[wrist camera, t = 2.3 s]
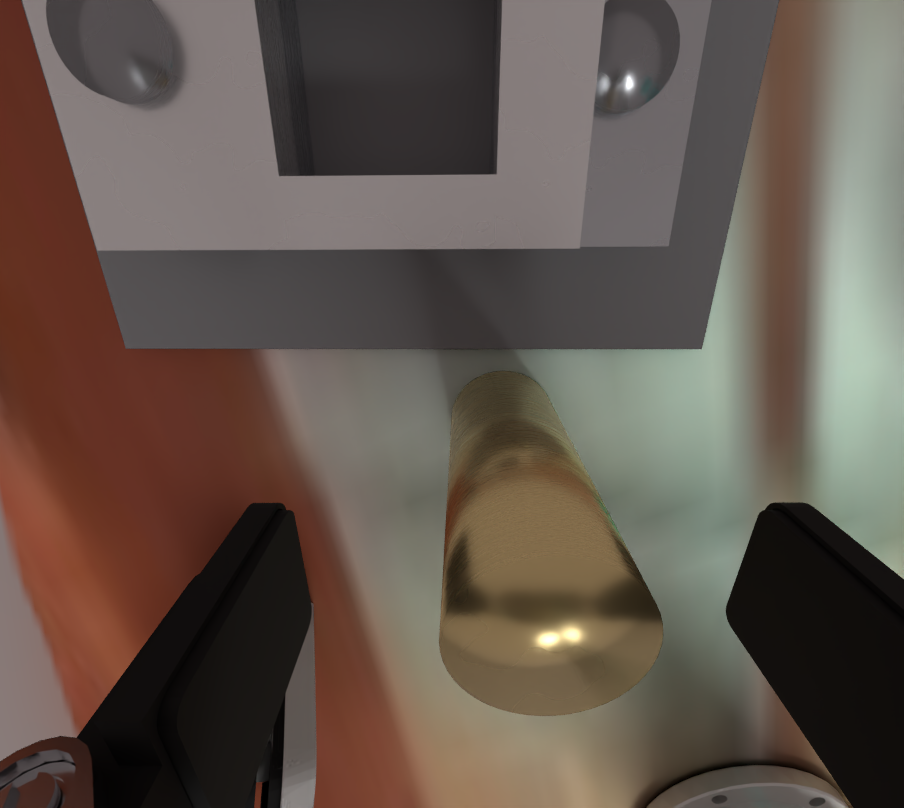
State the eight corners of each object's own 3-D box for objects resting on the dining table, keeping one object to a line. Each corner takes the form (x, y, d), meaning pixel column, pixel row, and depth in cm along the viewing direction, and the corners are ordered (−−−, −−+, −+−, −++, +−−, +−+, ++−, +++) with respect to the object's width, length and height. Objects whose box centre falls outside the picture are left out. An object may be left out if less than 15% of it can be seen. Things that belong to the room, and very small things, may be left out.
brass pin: (556, 370, 16) (684, 557, 7) (547, 462, 18) (643, 717, 8) (451, 371, 16) (437, 555, 7) (451, 462, 18) (440, 713, 8)
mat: (842, -343, 10) (861, -371, 9) (694, 345, 16) (701, 349, 15) (-56, -312, 10) (-81, -339, 10) (135, 345, 16) (125, 348, 16)
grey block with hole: (708, -141, 11) (819, -307, 7) (647, 244, 14) (704, 248, 11) (79, -127, 11) (-84, -278, 8) (168, 246, 14) (81, 251, 11)
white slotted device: (210, 581, 20) (148, 857, 12) (312, 573, 22) (322, 809, 14) (208, 779, 27) (166, 1055, 18) (288, 761, 28) (285, 1004, 20)
